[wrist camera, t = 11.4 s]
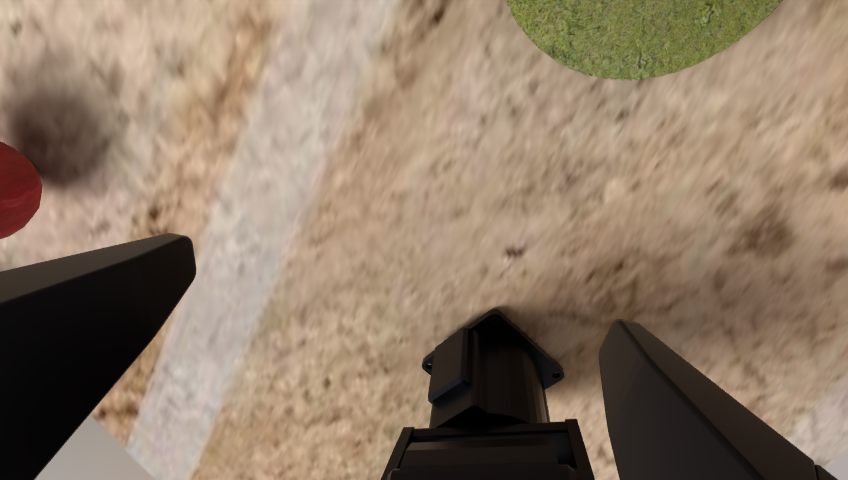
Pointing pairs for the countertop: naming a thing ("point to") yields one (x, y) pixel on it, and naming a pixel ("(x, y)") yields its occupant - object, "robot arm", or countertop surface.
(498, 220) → the countertop surface
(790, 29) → the countertop surface
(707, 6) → the mat
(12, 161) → the onion
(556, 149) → the countertop surface
